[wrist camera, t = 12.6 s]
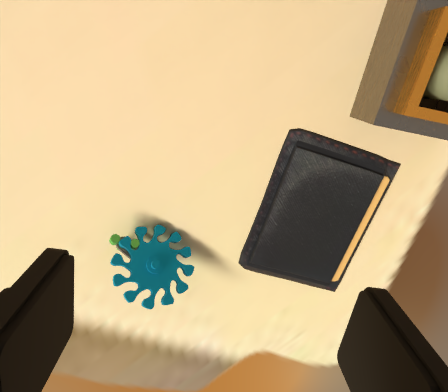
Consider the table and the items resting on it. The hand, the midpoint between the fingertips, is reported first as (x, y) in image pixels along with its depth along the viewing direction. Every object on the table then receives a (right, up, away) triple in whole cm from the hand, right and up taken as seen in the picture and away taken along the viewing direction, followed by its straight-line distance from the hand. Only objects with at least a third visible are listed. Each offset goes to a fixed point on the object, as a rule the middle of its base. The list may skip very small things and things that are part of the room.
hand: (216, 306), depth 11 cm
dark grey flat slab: (+12, +1, +33) cm, 35 cm away
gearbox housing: (+22, +19, +26) cm, 39 cm away
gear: (-9, -3, +33) cm, 35 cm away
